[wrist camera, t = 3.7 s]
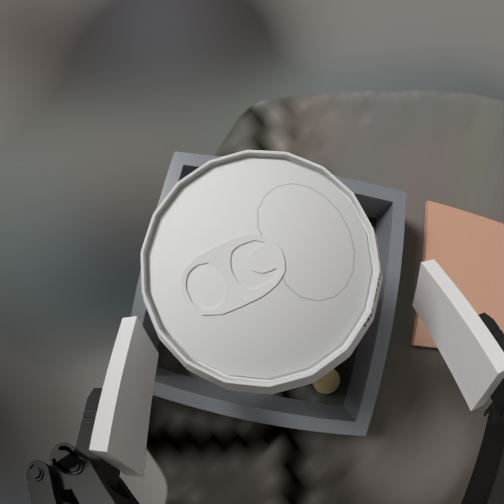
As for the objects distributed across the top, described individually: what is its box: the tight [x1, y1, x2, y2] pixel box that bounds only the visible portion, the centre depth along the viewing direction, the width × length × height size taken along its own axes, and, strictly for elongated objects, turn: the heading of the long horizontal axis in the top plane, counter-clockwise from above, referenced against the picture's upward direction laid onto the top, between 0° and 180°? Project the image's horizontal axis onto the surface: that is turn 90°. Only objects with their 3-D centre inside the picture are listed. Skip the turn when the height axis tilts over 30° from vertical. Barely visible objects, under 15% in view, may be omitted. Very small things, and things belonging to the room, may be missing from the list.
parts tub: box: [131, 152, 406, 436], centre depth 21 cm, size 17×17×4 cm
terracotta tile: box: [410, 201, 504, 348], centre depth 22 cm, size 12×12×1 cm
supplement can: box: [141, 150, 383, 394], centre depth 16 cm, size 8×8×15 cm
